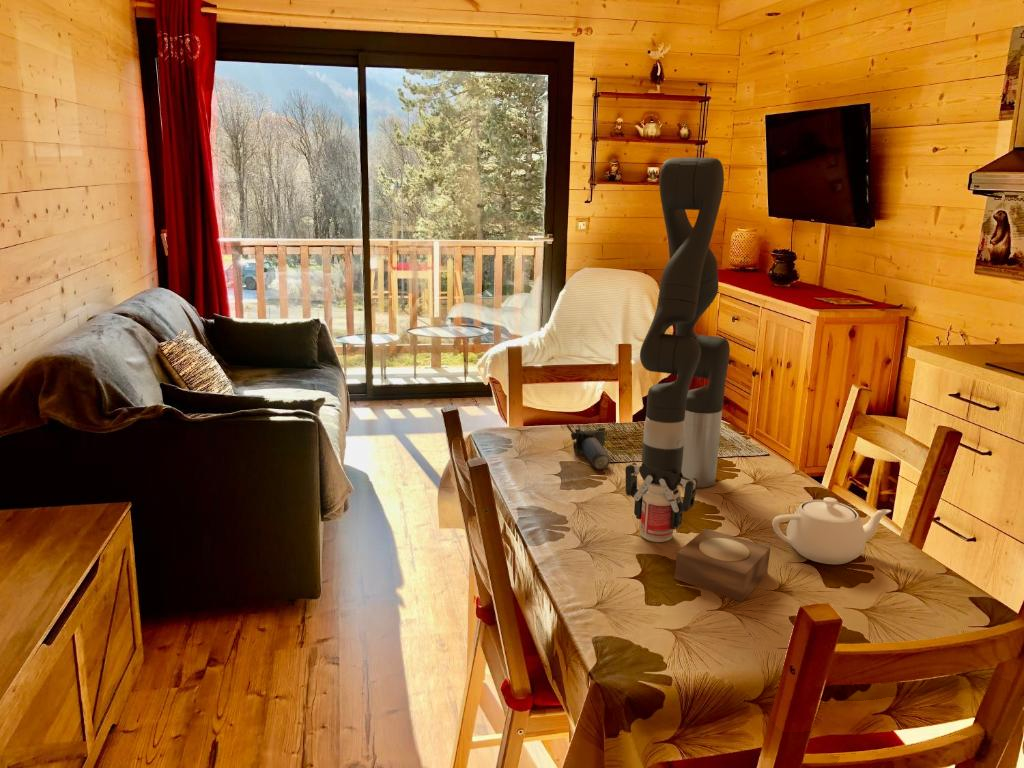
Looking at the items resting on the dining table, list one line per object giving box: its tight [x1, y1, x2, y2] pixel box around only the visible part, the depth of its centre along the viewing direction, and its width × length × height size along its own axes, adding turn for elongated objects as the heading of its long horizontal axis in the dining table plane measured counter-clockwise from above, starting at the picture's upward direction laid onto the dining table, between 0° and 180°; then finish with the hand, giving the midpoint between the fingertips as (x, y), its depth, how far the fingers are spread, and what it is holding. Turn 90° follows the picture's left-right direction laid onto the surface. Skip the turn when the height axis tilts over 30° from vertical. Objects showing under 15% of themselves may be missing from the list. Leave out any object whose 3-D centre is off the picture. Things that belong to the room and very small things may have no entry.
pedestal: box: [674, 528, 771, 602], centre depth 139 cm, size 12×12×5 cm
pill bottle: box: [639, 483, 674, 543], centre depth 153 cm, size 6×6×11 cm
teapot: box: [771, 496, 892, 565], centre depth 148 cm, size 22×14×11 cm, turn 94°
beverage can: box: [570, 427, 611, 470], centre depth 192 cm, size 9×8×12 cm
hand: (657, 522), depth 154 cm, fingers open, 6 cm apart
